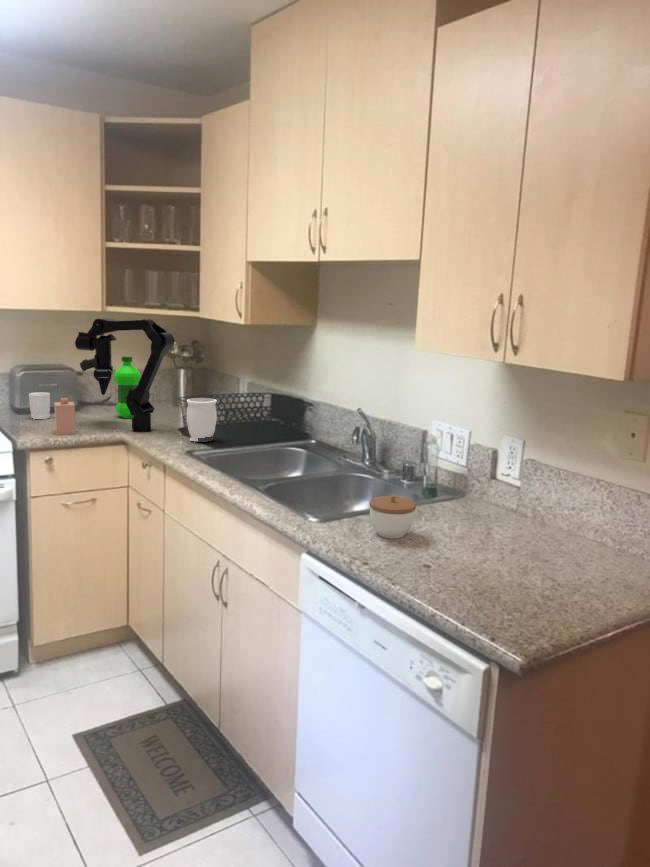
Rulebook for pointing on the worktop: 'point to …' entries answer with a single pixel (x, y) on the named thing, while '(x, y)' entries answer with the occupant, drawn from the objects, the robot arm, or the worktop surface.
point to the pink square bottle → (65, 417)
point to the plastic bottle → (125, 385)
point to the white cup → (39, 405)
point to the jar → (201, 417)
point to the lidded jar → (392, 515)
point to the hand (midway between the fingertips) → (103, 392)
